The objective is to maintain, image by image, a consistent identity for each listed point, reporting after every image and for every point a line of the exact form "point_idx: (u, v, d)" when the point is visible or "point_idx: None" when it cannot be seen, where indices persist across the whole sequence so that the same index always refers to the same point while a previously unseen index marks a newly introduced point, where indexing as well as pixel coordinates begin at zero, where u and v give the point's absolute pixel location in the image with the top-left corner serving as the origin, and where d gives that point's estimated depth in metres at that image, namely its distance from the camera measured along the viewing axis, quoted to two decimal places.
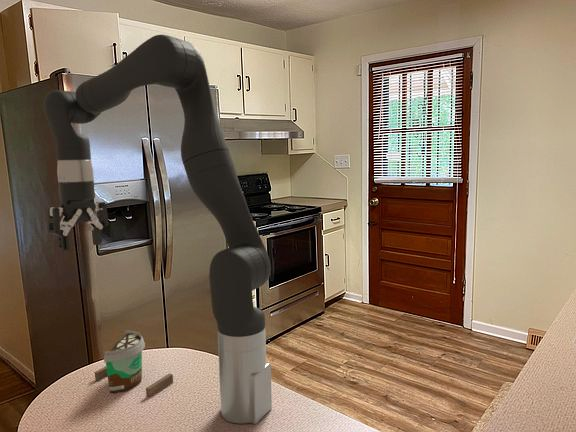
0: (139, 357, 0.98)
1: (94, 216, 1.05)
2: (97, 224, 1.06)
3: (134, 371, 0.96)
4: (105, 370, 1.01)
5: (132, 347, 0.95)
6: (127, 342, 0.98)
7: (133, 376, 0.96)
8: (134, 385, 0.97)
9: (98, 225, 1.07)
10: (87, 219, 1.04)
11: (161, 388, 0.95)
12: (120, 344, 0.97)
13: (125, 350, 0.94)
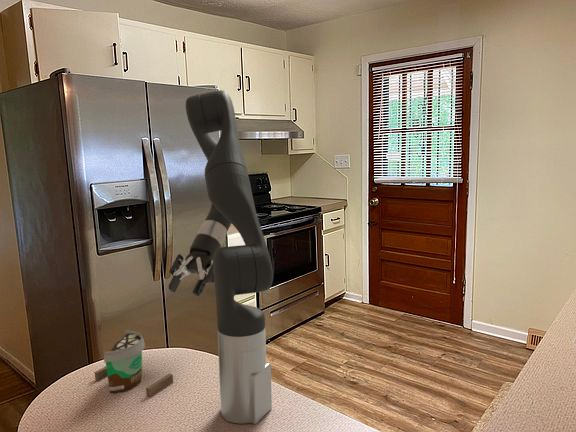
0: (139, 357, 0.98)
1: (200, 265, 1.14)
2: (200, 274, 1.13)
3: (134, 371, 0.96)
4: (105, 370, 1.01)
5: (132, 347, 0.95)
6: (127, 342, 0.98)
7: (133, 376, 0.96)
8: (134, 385, 0.97)
9: (200, 275, 1.13)
10: (196, 268, 1.15)
11: (161, 388, 0.95)
12: (120, 344, 0.97)
13: (125, 350, 0.94)
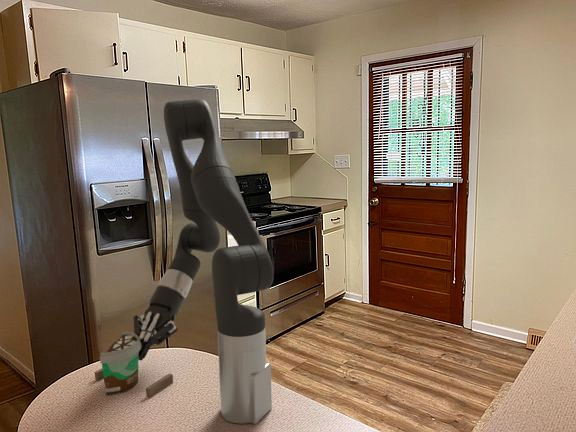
0: (135, 358, 0.97)
1: (153, 325, 1.02)
2: (147, 334, 1.02)
3: (130, 372, 0.96)
4: None
5: (128, 348, 0.94)
6: (124, 344, 0.98)
7: (129, 377, 0.95)
8: (130, 386, 0.96)
9: (145, 336, 1.02)
10: (151, 322, 1.04)
11: (161, 388, 0.95)
12: (116, 345, 0.97)
13: (121, 351, 0.93)
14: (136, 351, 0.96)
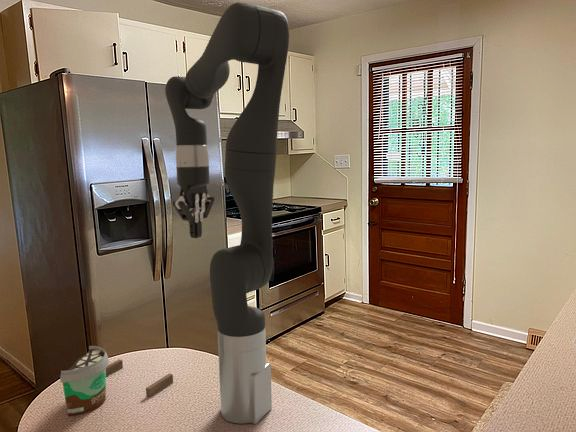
0: (101, 376, 0.89)
1: (203, 204, 1.05)
2: (200, 214, 1.05)
3: (95, 391, 0.88)
4: None
5: (92, 365, 0.87)
6: (89, 360, 0.90)
7: (94, 397, 0.88)
8: (96, 407, 0.89)
9: (199, 217, 1.04)
10: None
11: (161, 388, 0.95)
12: (80, 361, 0.89)
13: (84, 369, 0.85)
14: (102, 368, 0.88)
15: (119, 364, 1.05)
